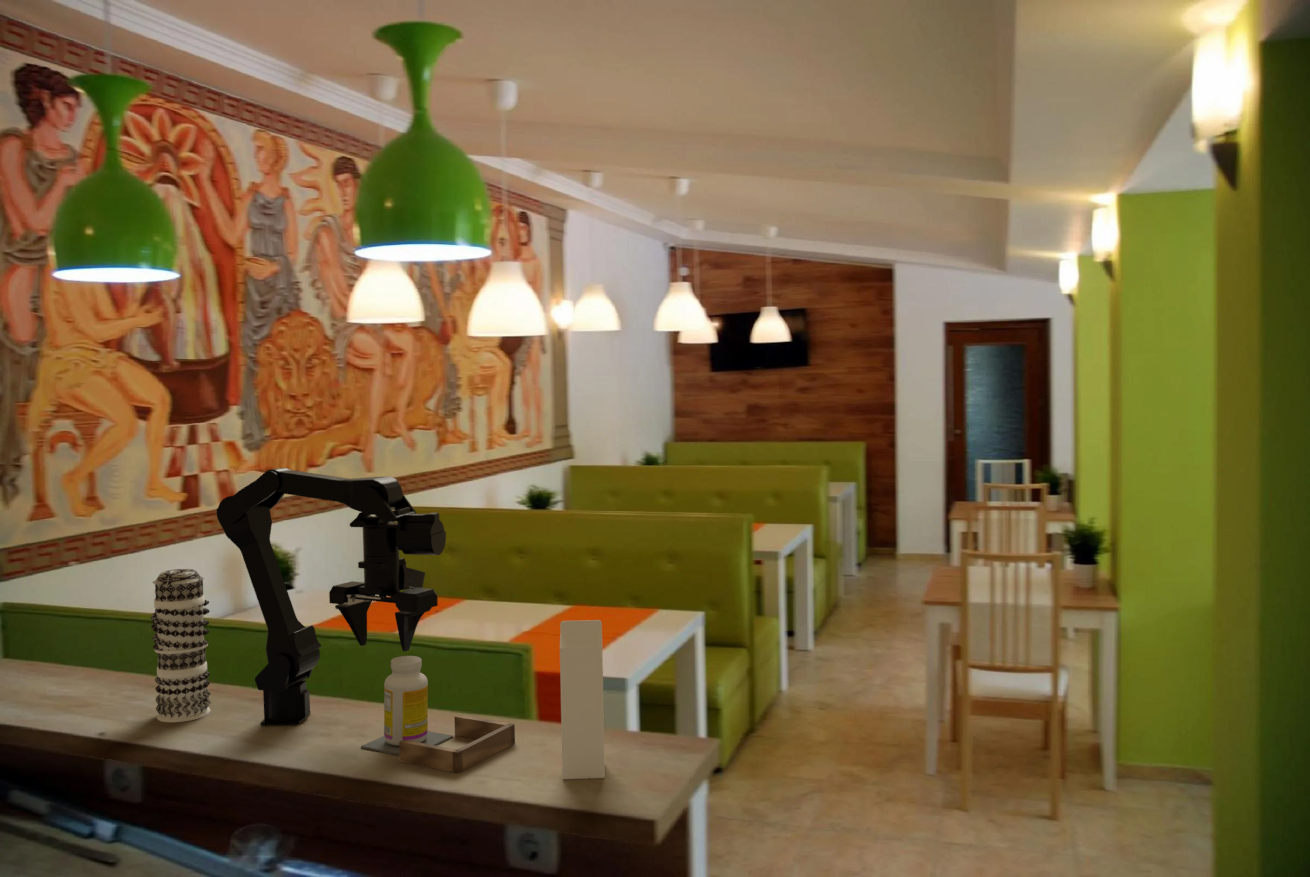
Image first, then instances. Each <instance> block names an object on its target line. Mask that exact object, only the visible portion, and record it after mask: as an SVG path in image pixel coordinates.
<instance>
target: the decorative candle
mask: <svg viewBox="0 0 1310 877" xmlns="http://www.w3.org/2000/svg"><path fill="white" fill-rule="evenodd" d="M204 579H205V577H203V576H202V575H201V576H200V574H199V572H198V571H197V570H195V569H191V568H177V569H176V568H175V569H169V570H164V571H162V572H160V573H159V574H158V576H157V578H156V579H155V580H153V581H152V582H151V583H152V584H153V585H154V595H155V598H154V599H153V606H154V607H153V608H154V609H155V610H154V612H153V613H152V614H151V616H150V620H151V621H152V622H153V623H152V624H151V626H150V628H151V629H152V631H153V632H155V633H154V634H153V636H152V637H151V638H152V641H153V643H154V645H153V646H152V649H154V650H153V651H154V652H155V653H157V666H156V675H157V676H156V677H155V678H154V682H155V683H156V684H158V685H157V686H156V687H155V689H154V690H155V691H156V692H157V693H158V695H157V696H156V697H155V702H156V704H157V705H156V707H155V711H156V712H157V713H158V714H157V715H156V718H157V720H158V722H159V721H160V722H162V723H183V722H184V723H185V722H189V721H194V720H197V719H201V718H204V717H206V716H208V715H209V714H211V709H210V705H211V703H212V702H211V700H210V698H209V696H211V694H212V693H211V692H210V690H209V689H208V686H210V684H211V682H210V681H209V679H208V678H209V676H210V675H211V673H210V672H209V671H208V662H207V659H206V657H207V656H206V655H207V654H206V648H208V646H209V641H208V640H206V639H205V636H206V635H207V634H209V633H210V630H209V629H207V628H205V627H206V626H208V625H209V624H210V622H209V620H207V619H205V618H204V616H205V615H207V614H209V613H210V609H208V608H207V607H206V606H207V605H209V604H210V600H207V599H205V594H204Z"/></svg>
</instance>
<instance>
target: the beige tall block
mask: <svg viewBox="0 0 1310 877" xmlns="http://www.w3.org/2000/svg"><path fill="white" fill-rule="evenodd" d="M559 627H560V632H559V633H560V635H559V667H560V669H559V674H560V676H559V677H560V719H561V723H560V724H561V728H560V729H561V764H562V765H561V767H562V768H561V770H562V772H561V775H562V780H585V779H586V780H587V779H589V778H590V779H605V766H606V765H605V723H604V722H605V718H604V712H605V711H604V710H605V709H604V669H603V668H604V665H603V661H604V660H603V623H602V620H600V619H594V620H593V619H590V620H588V619H587V620H562V621H561V622H560V624H559Z"/></svg>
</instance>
